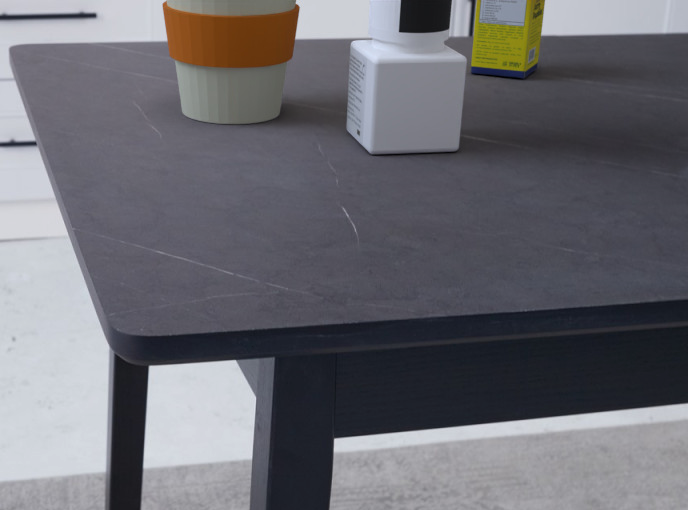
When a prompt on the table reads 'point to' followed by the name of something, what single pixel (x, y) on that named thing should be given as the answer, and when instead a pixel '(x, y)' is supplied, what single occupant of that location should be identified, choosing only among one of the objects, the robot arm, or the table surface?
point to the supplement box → (507, 37)
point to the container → (406, 80)
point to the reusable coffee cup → (231, 56)
